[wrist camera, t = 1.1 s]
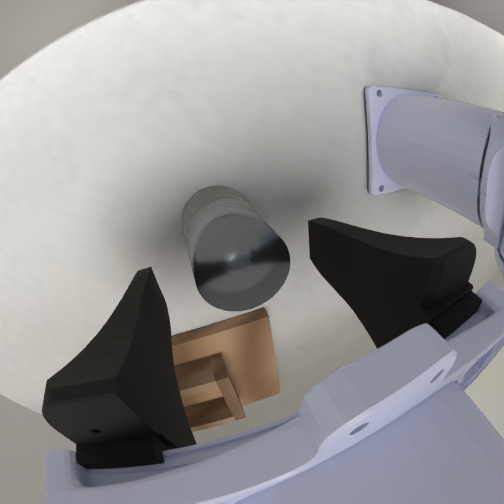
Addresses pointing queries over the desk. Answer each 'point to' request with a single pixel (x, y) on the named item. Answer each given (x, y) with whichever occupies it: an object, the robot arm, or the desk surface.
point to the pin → (232, 250)
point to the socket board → (225, 368)
